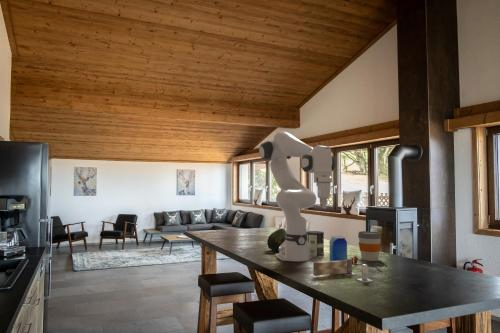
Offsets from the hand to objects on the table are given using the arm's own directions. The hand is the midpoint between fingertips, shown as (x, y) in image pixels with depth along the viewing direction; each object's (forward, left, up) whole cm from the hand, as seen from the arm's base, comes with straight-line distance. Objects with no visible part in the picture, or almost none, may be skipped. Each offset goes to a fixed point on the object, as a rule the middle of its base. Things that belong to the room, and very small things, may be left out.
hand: (323, 207), depth 181 cm
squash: (-61, +6, -31) cm, 68 cm away
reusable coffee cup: (-20, +43, -31) cm, 56 cm away
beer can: (-4, +11, -31) cm, 33 cm away
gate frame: (+13, +9, -31) cm, 34 cm away
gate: (+6, +1, -30) cm, 31 cm away
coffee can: (-39, +19, -31) cm, 53 cm away
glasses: (-3, +28, -31) cm, 42 cm away
